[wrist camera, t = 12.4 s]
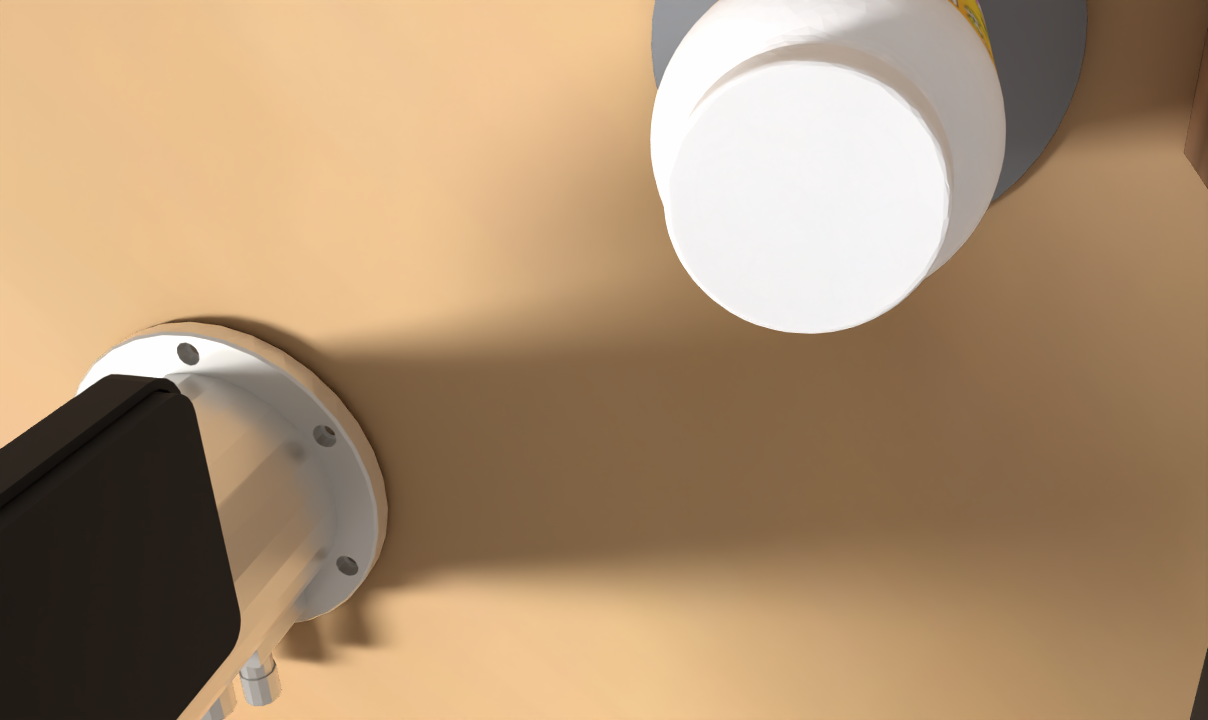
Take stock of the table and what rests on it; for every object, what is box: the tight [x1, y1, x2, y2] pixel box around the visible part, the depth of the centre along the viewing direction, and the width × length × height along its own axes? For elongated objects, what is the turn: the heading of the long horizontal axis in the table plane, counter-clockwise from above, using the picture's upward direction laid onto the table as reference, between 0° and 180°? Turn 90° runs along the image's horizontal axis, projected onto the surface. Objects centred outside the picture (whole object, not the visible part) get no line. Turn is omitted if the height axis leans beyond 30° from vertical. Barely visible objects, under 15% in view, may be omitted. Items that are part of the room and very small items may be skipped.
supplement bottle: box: [650, 0, 1006, 334], centre depth 24 cm, size 7×7×13 cm
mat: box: [651, 0, 1087, 203], centre depth 29 cm, size 11×11×1 cm
